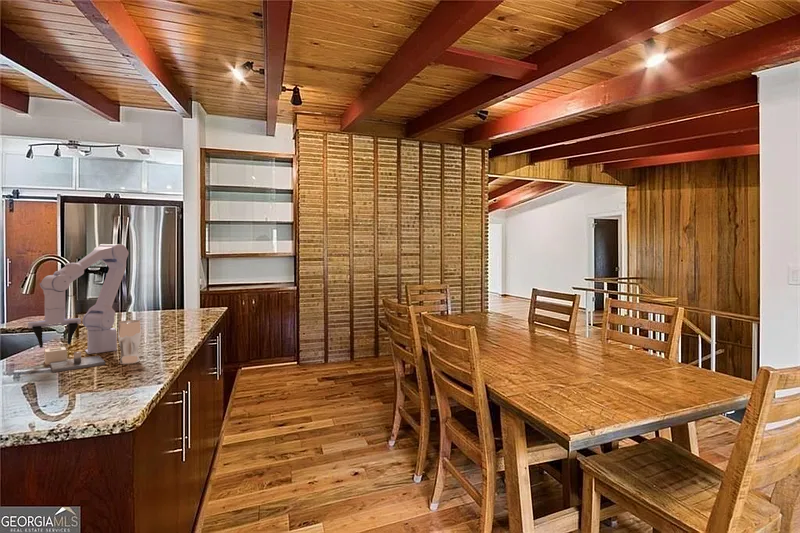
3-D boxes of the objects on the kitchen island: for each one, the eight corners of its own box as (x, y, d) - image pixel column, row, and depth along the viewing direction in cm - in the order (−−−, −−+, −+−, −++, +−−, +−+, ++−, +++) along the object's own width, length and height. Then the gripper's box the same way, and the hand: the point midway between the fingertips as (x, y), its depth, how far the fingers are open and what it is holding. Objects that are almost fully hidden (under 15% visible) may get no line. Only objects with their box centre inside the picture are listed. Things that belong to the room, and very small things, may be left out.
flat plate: (98, 358, 150) (98, 346, 150) (105, 364, 142) (105, 352, 142) (49, 365, 140) (49, 352, 140) (53, 372, 132) (53, 359, 132)
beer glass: (145, 360, 149) (145, 320, 148) (131, 365, 142) (131, 323, 141) (128, 359, 149) (128, 319, 149) (113, 364, 142) (112, 322, 142)
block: (64, 358, 149) (64, 346, 149) (66, 361, 145) (66, 349, 145) (44, 361, 145) (44, 349, 145) (46, 364, 141) (46, 352, 141)
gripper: (78, 305, 152) (78, 340, 153) (26, 308, 142) (26, 346, 142) (82, 307, 147) (82, 343, 148) (28, 310, 137) (28, 350, 137)
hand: (55, 345), depth 145 cm, fingers open, 7 cm apart
